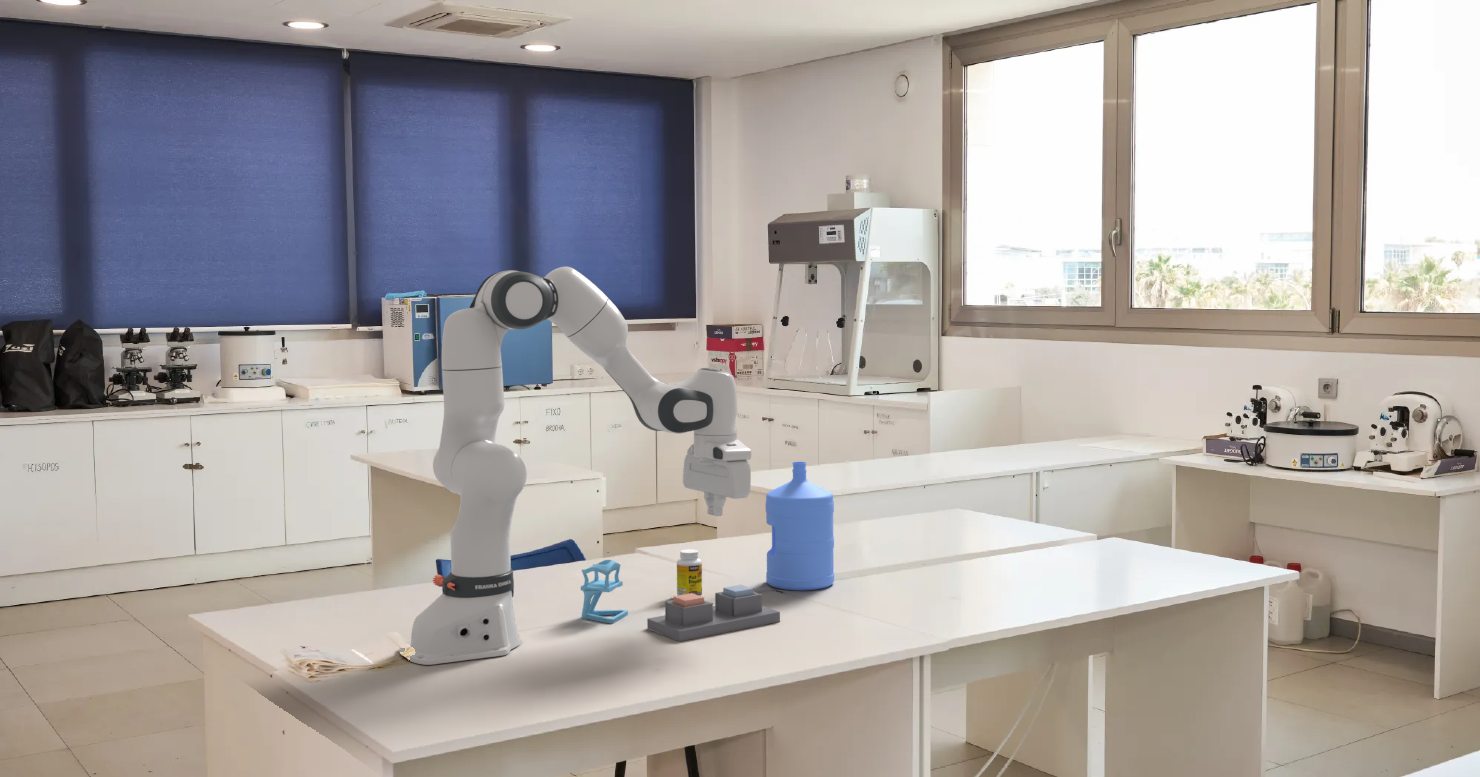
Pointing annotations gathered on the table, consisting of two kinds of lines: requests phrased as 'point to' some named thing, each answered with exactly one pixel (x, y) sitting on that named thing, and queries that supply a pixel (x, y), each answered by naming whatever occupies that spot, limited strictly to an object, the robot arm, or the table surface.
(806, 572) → the water jug
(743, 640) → the table surface
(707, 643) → the table surface
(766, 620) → the grey piece
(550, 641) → the table surface
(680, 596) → the terracotta key
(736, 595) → the slate key
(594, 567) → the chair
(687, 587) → the supplement bottle
